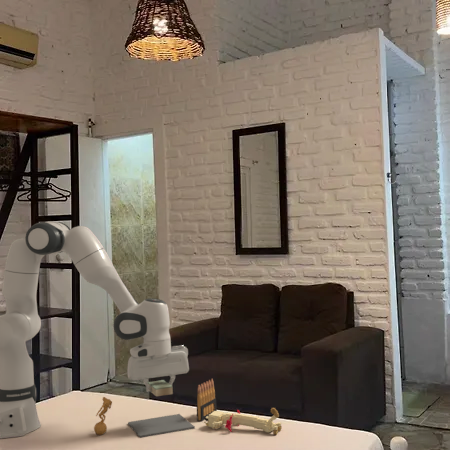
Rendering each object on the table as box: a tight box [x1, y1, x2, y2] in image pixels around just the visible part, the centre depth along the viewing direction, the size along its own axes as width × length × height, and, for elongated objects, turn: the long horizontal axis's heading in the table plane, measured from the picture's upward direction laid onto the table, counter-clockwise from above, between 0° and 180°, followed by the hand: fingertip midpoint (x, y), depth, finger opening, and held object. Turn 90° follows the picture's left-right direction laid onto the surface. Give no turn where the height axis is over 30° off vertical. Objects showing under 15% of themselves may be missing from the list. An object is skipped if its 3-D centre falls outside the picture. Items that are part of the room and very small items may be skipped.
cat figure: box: [203, 407, 282, 436], centre depth 194 cm, size 10×9×25 cm
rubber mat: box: [127, 413, 196, 438], centre depth 201 cm, size 18×16×1 cm
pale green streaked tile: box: [147, 379, 174, 397], centre depth 200 cm, size 6×2×10 cm
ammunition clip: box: [196, 378, 218, 422], centre depth 209 cm, size 11×2×12 cm, turn 152°
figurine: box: [93, 396, 113, 436], centre depth 195 cm, size 8×6×12 cm
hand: (159, 390), depth 201 cm, fingers closed on pale green streaked tile, 5 cm apart
